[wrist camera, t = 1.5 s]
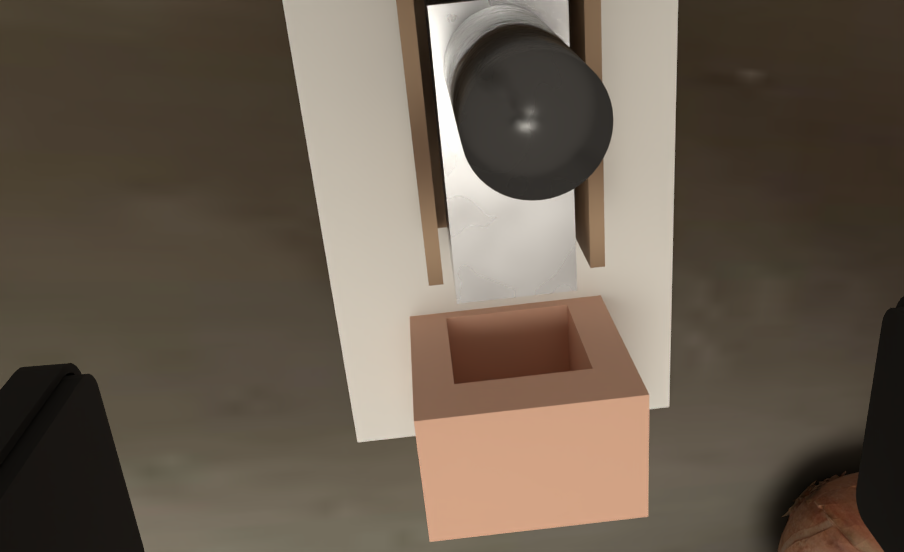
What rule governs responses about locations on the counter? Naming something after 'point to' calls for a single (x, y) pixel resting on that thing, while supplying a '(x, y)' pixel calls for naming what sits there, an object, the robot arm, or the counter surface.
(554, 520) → the terracotta socket
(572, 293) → the grey base board
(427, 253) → the walnut sleeve
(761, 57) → the counter surface
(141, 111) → the counter surface
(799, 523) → the onion
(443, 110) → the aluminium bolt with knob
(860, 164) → the counter surface
